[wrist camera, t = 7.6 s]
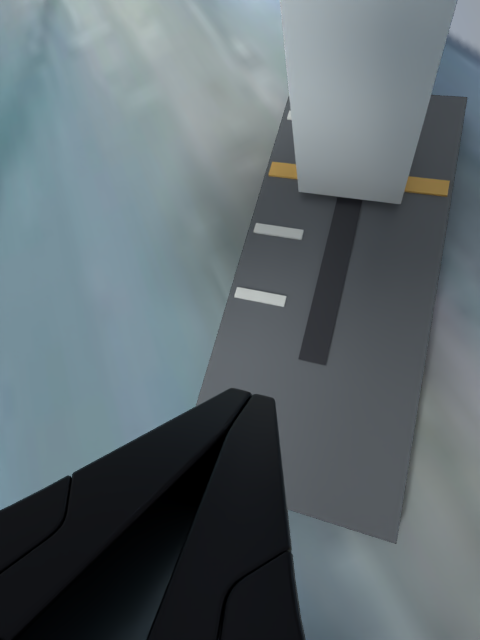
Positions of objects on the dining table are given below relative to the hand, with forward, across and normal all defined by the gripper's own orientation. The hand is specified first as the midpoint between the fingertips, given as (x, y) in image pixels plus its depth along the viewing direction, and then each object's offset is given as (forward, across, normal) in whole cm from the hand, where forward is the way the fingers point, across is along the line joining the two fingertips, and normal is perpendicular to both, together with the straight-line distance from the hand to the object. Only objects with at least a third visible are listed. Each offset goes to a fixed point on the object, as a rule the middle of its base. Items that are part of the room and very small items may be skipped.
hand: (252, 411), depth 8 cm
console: (+14, 0, +2) cm, 14 cm away
